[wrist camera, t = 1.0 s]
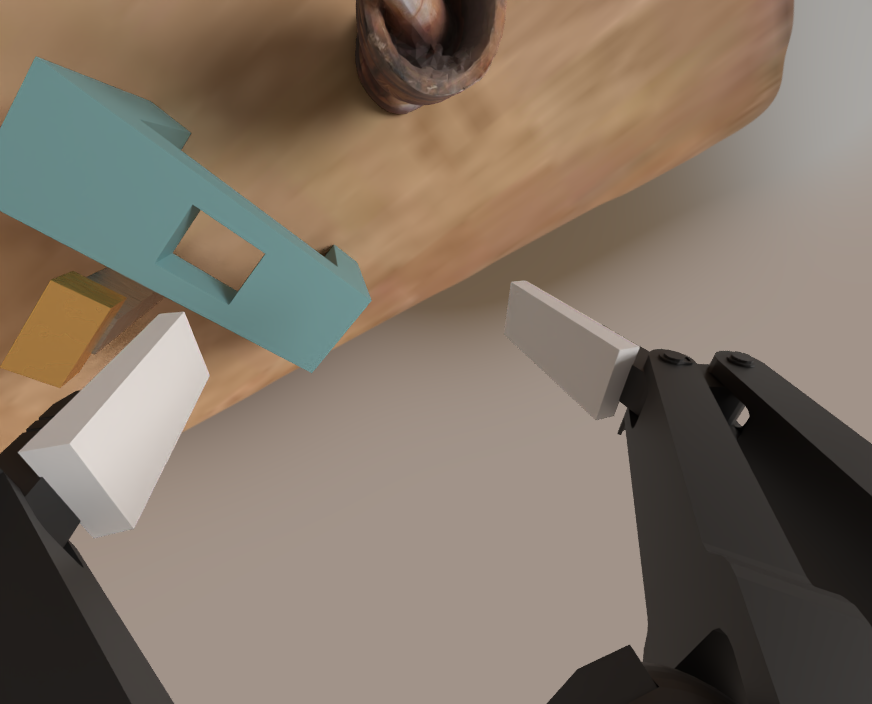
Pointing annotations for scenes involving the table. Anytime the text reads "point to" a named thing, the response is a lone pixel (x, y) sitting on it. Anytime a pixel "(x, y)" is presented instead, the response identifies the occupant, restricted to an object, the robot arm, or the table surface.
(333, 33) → the table surface
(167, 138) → the teal slotted arch
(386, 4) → the mortar and pestle
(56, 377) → the golden orange block
